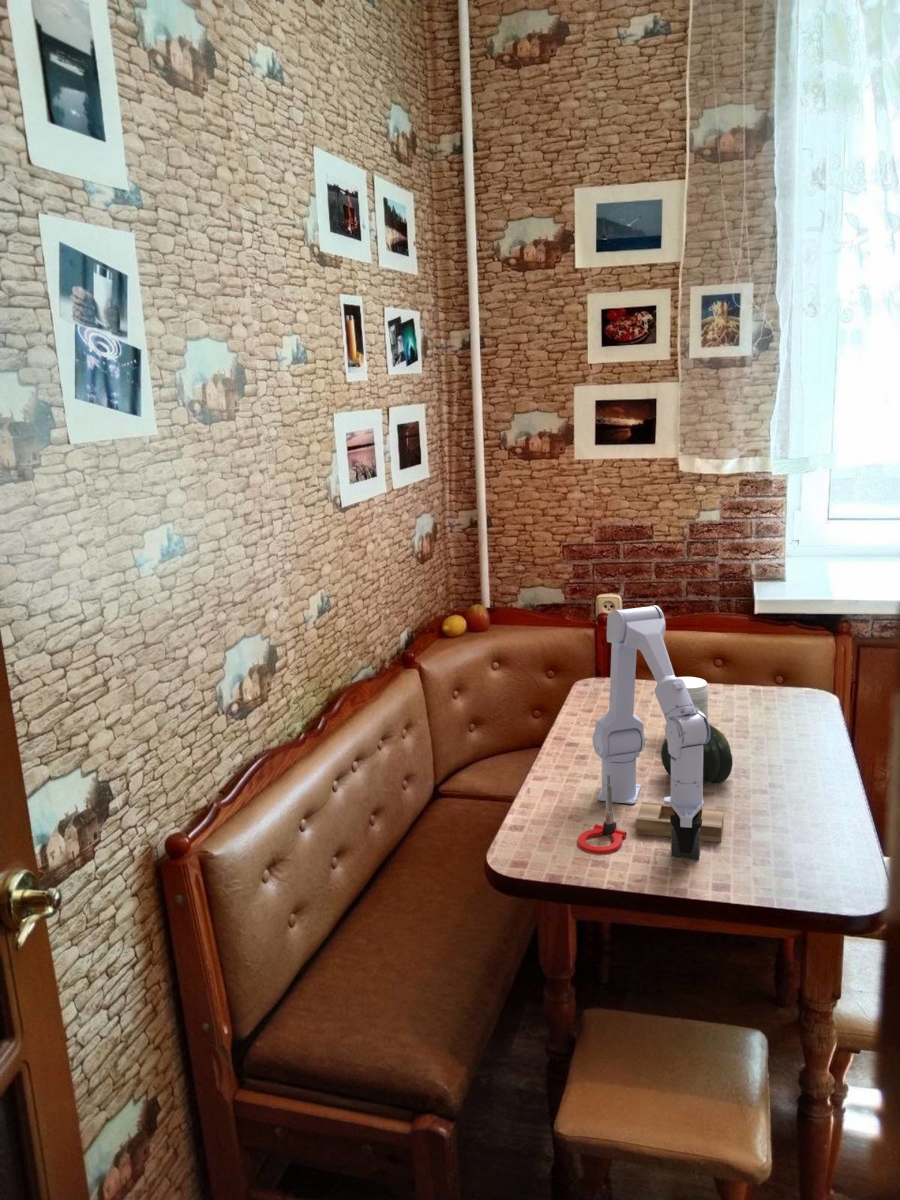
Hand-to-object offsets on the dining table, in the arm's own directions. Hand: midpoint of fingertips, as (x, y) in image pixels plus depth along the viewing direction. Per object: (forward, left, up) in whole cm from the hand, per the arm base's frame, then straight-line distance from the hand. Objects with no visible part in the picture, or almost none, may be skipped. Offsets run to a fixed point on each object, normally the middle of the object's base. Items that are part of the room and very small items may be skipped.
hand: (685, 846), depth 178 cm
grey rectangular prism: (0, 0, -2) cm, 2 cm away
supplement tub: (-59, -5, -2) cm, 59 cm away
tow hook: (-1, -16, -2) cm, 16 cm away
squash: (-35, -1, -2) cm, 35 cm away
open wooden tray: (-10, -2, -2) cm, 11 cm away
